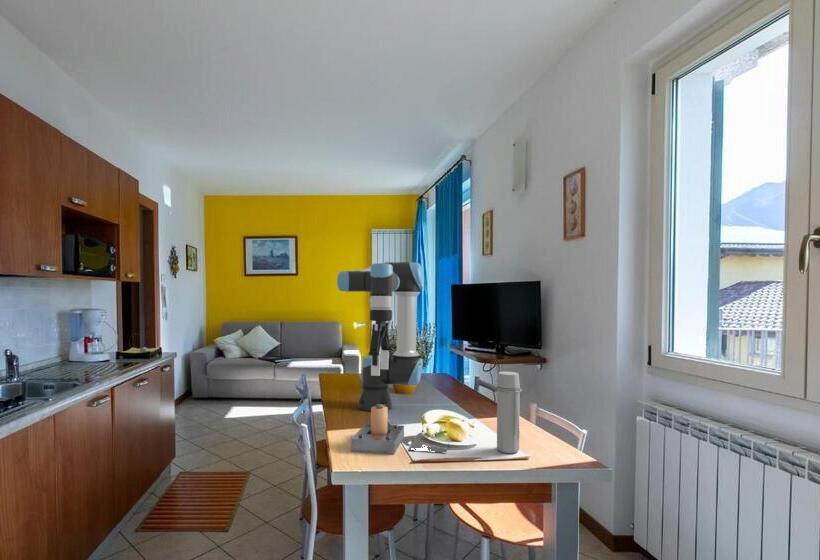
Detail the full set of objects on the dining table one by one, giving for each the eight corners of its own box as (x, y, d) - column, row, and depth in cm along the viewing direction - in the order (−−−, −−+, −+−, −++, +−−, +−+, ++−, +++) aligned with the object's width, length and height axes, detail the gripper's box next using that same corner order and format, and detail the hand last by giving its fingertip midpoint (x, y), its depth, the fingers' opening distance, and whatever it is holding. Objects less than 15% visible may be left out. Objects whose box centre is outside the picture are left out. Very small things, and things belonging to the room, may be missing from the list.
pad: (414, 439, 159) (414, 438, 159) (449, 441, 157) (449, 440, 157) (408, 451, 147) (408, 449, 147) (446, 453, 145) (446, 452, 145)
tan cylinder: (372, 440, 157) (373, 402, 157) (388, 441, 156) (389, 403, 157) (368, 446, 151) (369, 406, 152) (385, 447, 151) (385, 407, 151)
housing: (365, 434, 164) (365, 421, 164) (404, 437, 162) (404, 423, 162) (351, 451, 146) (351, 436, 146) (394, 454, 144) (394, 439, 144)
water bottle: (491, 448, 151) (492, 371, 152) (511, 445, 154) (511, 370, 155) (508, 457, 142) (508, 376, 143) (528, 454, 145) (529, 375, 146)
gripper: (378, 308, 168) (377, 366, 167) (360, 309, 144) (359, 377, 143) (398, 308, 167) (397, 367, 166) (384, 310, 142) (382, 378, 142)
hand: (379, 372), depth 155 cm, fingers open, 13 cm apart
